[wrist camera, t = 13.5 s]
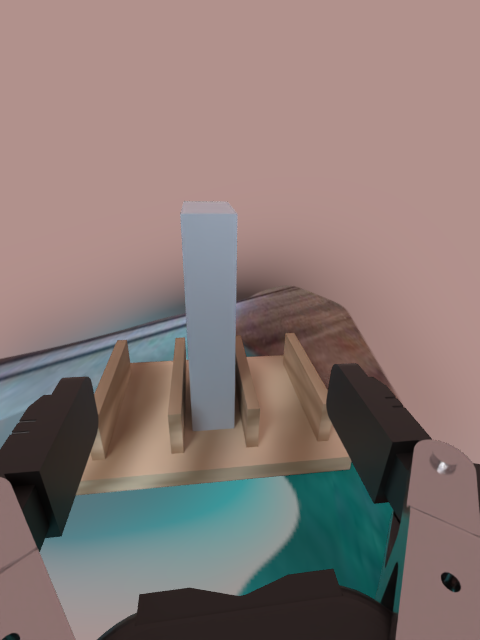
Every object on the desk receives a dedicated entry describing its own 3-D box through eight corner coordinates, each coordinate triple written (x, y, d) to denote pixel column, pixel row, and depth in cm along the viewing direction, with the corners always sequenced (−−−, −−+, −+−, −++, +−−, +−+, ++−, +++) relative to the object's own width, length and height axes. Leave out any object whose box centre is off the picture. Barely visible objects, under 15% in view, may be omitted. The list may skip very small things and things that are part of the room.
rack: (70, 495, 20) (53, 441, 18) (115, 374, 32) (108, 333, 30) (349, 469, 23) (361, 417, 21) (296, 364, 34) (300, 325, 32)
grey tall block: (192, 431, 24) (180, 213, 17) (192, 381, 29) (183, 201, 23) (234, 428, 24) (237, 213, 18) (227, 379, 30) (227, 201, 23)
